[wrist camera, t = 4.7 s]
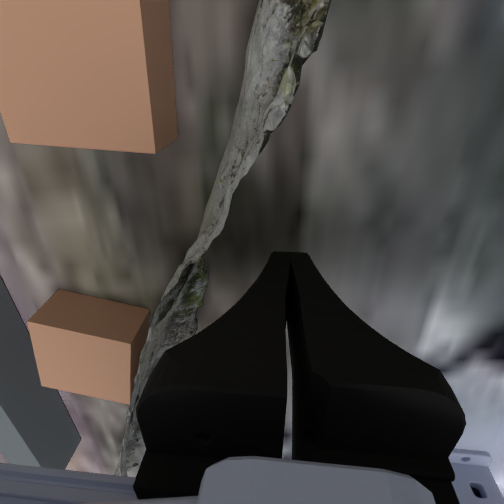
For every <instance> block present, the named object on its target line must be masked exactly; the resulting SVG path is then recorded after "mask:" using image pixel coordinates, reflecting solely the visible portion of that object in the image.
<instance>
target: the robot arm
mask: <svg viewBox="0 0 504 504" xmlns="http://www.w3.org/2000/svg"><path fill="white" fill-rule="evenodd" d="M286 321H287V326H288V336H289V346H290V357H291V367H292V460H289V459H282V450H283V438H284V427H285V415H286V403H287V361H286V336H285V329H286ZM136 418H137V421H138V424H139V428H140V431H141V434H142V437H143V440H144V443H145V447H146V452H145V454H144V457H143V460H142V462H141V465H140V468H139V471H138V473H137V476H136V478H135V477H126V476H116V475H107V474H98V473H89V472H80V471H71V470H62V469H52V468H43V467H34V466H25V465H16V464H7V463H0V504H504V498H503V496H502V494H501V492H500V490H499V488H498V486H497V484H496V482H495V480H494V478H493V476H492V474H491V472H490V470H489V468H488V466H489V464H490V463H491V461H492V458H491V456H490V454H489V453H487V452H483V451H472V450H461V449H454V447H455V446H456V444H457V442H458V441H459V439H460V437H461V435H462V434H463V431H464V428H465V425H466V420H465V414H464V412H463V410H462V408H461V406H460V404H459V402H458V400H457V398H456V396H455V394H454V392H453V390H452V389H451V387H450V385H449V384H448V382H447V381H446V379H445V378H444V376H443V374H442V373H441V371H440V370H439V369H437V368H435V367H433V366H431V365H429V364H428V363H426V362H424V361H422V360H420V359H419V358H417V357H415V356H413V355H411V354H410V353H408V352H406V351H405V350H403V349H401V348H400V347H398V346H397V345H395V344H394V343H392V342H391V341H389V340H388V339H386V338H385V337H383V336H382V335H380V334H379V333H378V332H376V331H375V330H374V329H373V328H371V327H370V326H369V325H367V324H366V323H365V322H364V321H362V320H361V319H360V318H359V317H358V316H357V315H356V314H354V313H353V312H352V311H351V310H350V309H349V308H348V307H347V306H346V305H345V304H344V303H343V302H342V301H341V299H340V298H339V297H338V296H337V295H336V294H335V293H334V291H333V290H332V289H331V288H330V286H329V285H328V284H327V282H326V281H325V280H324V278H323V277H322V276H321V274H320V273H319V271H318V270H317V268H316V266H315V265H314V263H313V261H312V260H311V258H310V256H309V255H308V254H307V253H300V252H278V251H274V252H272V253H271V255H270V258H269V260H268V262H267V264H266V265H265V267H264V269H263V270H262V272H261V273H260V275H259V276H258V278H257V279H256V281H255V282H254V283H253V285H252V286H251V287H250V288H249V290H248V291H247V292H246V293H245V294H244V295H243V297H242V298H241V299H240V300H239V301H238V302H237V303H236V304H235V305H234V306H233V307H232V308H231V309H229V310H228V311H227V312H226V313H225V314H224V315H222V316H221V317H220V318H219V319H218V320H216V321H215V322H214V323H212V324H211V325H209V326H208V327H206V328H205V329H203V330H202V331H201V332H199V333H197V334H196V335H194V336H192V337H191V338H189V339H187V340H185V341H183V342H181V343H179V344H177V345H175V346H173V347H171V348H169V349H167V350H165V351H164V353H163V355H162V356H161V358H160V359H159V361H158V362H157V364H156V366H155V367H154V369H153V371H152V372H151V374H150V376H149V378H148V380H147V382H146V385H145V387H144V389H143V392H142V394H141V397H140V399H139V401H138V404H137V407H136Z"/></svg>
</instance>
